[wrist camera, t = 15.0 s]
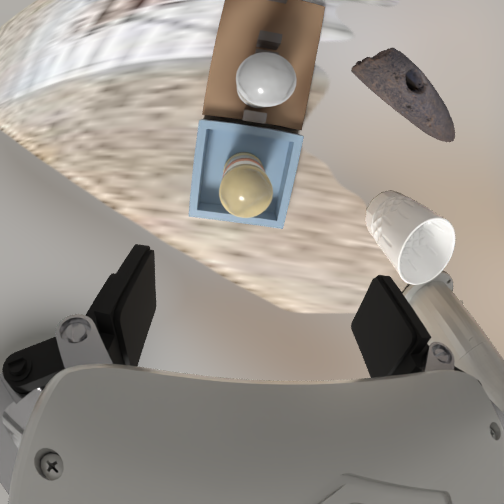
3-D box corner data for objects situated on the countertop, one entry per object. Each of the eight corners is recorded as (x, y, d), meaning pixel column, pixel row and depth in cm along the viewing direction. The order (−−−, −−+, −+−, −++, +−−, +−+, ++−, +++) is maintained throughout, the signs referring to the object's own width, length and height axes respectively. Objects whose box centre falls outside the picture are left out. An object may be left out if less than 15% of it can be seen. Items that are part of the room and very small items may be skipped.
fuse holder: (321, 10, 19) (333, -3, 15) (298, 129, 26) (308, 132, 22) (228, -7, 18) (227, -24, 14) (204, 114, 25) (197, 115, 21)
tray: (297, 133, 27) (303, 136, 24) (279, 217, 31) (282, 228, 29) (203, 118, 25) (199, 119, 23) (193, 206, 30) (188, 216, 28)
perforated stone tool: (442, 122, 25) (477, 131, 19) (424, 151, 27) (459, 165, 21) (359, 41, 21) (389, 29, 15) (338, 72, 23) (365, 64, 17)
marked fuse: (266, 155, 27) (277, 171, 20) (259, 192, 29) (267, 220, 22) (226, 149, 27) (222, 163, 20) (221, 187, 29) (216, 214, 22)
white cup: (418, 194, 30) (465, 226, 22) (398, 245, 34) (435, 287, 25) (371, 178, 29) (417, 209, 21) (352, 236, 33) (386, 281, 24)
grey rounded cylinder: (283, 73, 22) (301, 59, 15) (275, 111, 24) (290, 111, 17) (240, 65, 21) (241, 47, 15) (233, 104, 23) (231, 101, 17)
